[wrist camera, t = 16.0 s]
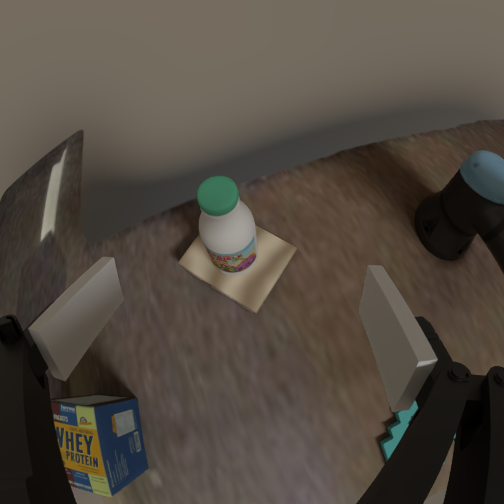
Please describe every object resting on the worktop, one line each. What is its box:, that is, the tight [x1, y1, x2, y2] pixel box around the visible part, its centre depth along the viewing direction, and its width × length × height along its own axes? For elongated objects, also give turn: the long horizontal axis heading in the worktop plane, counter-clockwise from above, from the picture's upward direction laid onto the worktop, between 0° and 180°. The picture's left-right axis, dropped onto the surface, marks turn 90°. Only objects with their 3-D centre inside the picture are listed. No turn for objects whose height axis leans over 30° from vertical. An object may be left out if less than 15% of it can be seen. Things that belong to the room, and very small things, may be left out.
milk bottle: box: [197, 176, 258, 277], centre depth 40 cm, size 8×8×20 cm
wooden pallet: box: [178, 225, 296, 314], centre depth 51 cm, size 16×13×4 cm
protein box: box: [50, 395, 149, 497], centre depth 35 cm, size 10×15×16 cm
